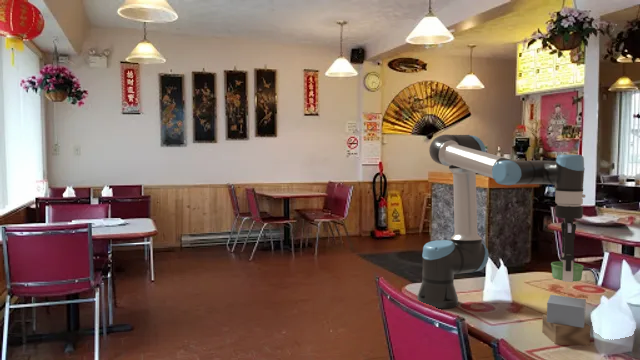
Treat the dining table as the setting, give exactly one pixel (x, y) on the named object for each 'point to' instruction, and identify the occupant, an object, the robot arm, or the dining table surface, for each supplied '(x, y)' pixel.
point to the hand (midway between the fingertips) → (566, 277)
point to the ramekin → (558, 271)
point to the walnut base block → (566, 333)
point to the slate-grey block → (566, 310)
